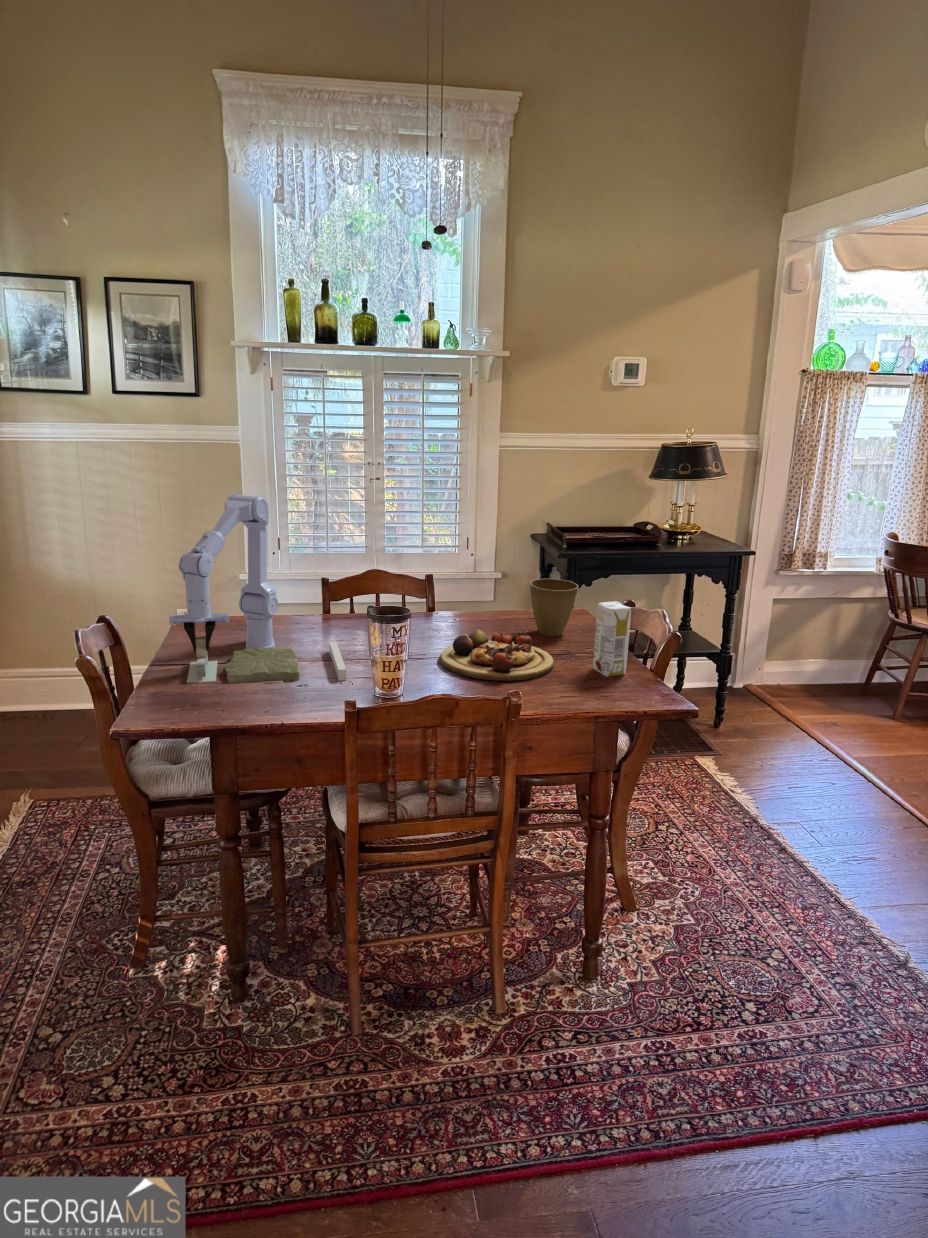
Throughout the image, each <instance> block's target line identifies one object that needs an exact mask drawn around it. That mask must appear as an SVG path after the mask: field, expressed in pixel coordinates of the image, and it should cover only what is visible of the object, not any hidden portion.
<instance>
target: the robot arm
mask: <svg viewBox="0 0 928 1238" xmlns="http://www.w3.org/2000/svg"><path fill="white" fill-rule="evenodd" d="M269 506H270V505H269V502H268V501H267V500H266V499H265V497H263V496H261V495H258V496H256V495H245V494H244V495H242V494H236V493H231V494H230V495H229V496H228V498H227V500H226V501H225V502H224V512H222V515H221V516H220V518H219V519H218V521H217V523H216V524H215V526H214V528H213V529H212V530H208V531H206V532H204V533H203V534H202V536H201V537H200V539H199V540H198V541H197V543H196V544H195V545H194V547H193V548H192V549H191V551H188V552H187V551H186V552H185V553H184V554H183V555H182V556H181V557H180V559H179V564H178V568H179V572H180V573H181V574H182V579H183V581H184V583H185V597H186V611H187V613H184V614H177V615H169V616H168V617H169V618H168V621H169V626H174V625H183V629H184V631H185V633H186V635H187V636H188V638H189V640H190V642H191V646H192V649H193V652H196V637H197V636H196V624H204V631H205V636H206V651H207V652H209V651H210V643H211V639H212V635H213V633H214V630H215V628H216V624H217V623H225V624H228V623H230V615H229V613H217V612H212V611H211V608H212V607H211V596H210V595H211V593H210V577H209V576H210V574H211V573H213V568H214V564H215V563H216V562H215V561H216V558H217V556H218V555H219V554H220V552H221V551H222V549H223V548H224V546H225V538H226V537H227V536H228V535H229V533H230V532H231V531H232V530H233V529H234V528H235V527H236V526H237V525H238V523H240V522H241V523H242V524H243V525H244V526H245V527H246V528H247V583H246V584H245V585H244V586H243V587H241V589H240V597H239V600H238V607H239V609H240V612H241V613H242V614H243V617H245V619H246V620H245V623H246V624H245V625H246V639H245V649H260V648H262V649H264V648H276V646H275V637H273V636H274V634H273V633H274V631H273V617H274V616H275V614H276V612H277V611H278V608H279V601H278V598H277V590H276V589H275V588H274V587H273V586H272V585H270V584H269V583H268V525H269V520H270V519H269V518H270V517H269V509H270V507H269Z"/></svg>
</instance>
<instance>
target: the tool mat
mask: <svg viewBox="0 0 928 1238" xmlns="http://www.w3.org/2000/svg"><path fill="white" fill-rule="evenodd" d="M196 665H197V661H190V662H189V668H188V673H187V678H186V679H187V680H186V684H188V683H189V684H191V683H204V682H205V683H206V682H216V680H217V670H218V660H208V661H207V669H206V677H197V666H196Z"/></svg>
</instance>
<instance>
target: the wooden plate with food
mask: <svg viewBox="0 0 928 1238" xmlns="http://www.w3.org/2000/svg"><path fill="white" fill-rule="evenodd" d="M532 642H533V639H532V637H531V636H529V635H528V634H526V633H525V634H524V635H523V634H522V633H520V632H518V633H517V635H514V636H513V637H512V636H511V635H510V633H506V634H503V633H502V632H501V631H496V632H494V633H493V634H492V636H491V640H489V638H488V636H487V634H486V633H485V632H483V630H480V629H478V628H477V629H476V630H474V631H472V632H471V633H470V634H469V635H467V634H466V633H463V634H460V635H458V636H457V637H456V638H455V639H454V640H453V643H452V645H450V646H448V647H446V648H445V649H443V650H442V651H441V653H440V656H439V661H440V664H441V665H442V666H443V667H445V668H446V669H447V670H448V671H451V672H453V673H455V674H458V675H461V676H464V677H468V678H473V679H479V680H487V681H499V682H500V681H501V682H502V681H504V682H505V681H506V682H507V681H508V682H509V681H511V682H513V681H524V680H531V679H534V678H539V677H542V676H545V675H546V674H548V673H549V672H551V671H552V670H553V668H554V666H555V660H554V658H553V655H551V654H549V652H547V651H545V650H543V649H542V648H539V647H536V646H532Z"/></svg>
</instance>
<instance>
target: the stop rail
mask: <svg viewBox="0 0 928 1238" xmlns="http://www.w3.org/2000/svg"><path fill="white" fill-rule="evenodd" d="M328 644H329V650H328V651H329V654H330V655H329V656H330V658H331V661H332V664H333V667H334V670H335V671H334V672H335V674H336V677H337V680H338V682H339V681H341V682H343V681H347V667H346V665H345V661H344V659H343V656H342V654H341V651H340V649H339V645H338V642H337V641H329V643H328Z"/></svg>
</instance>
